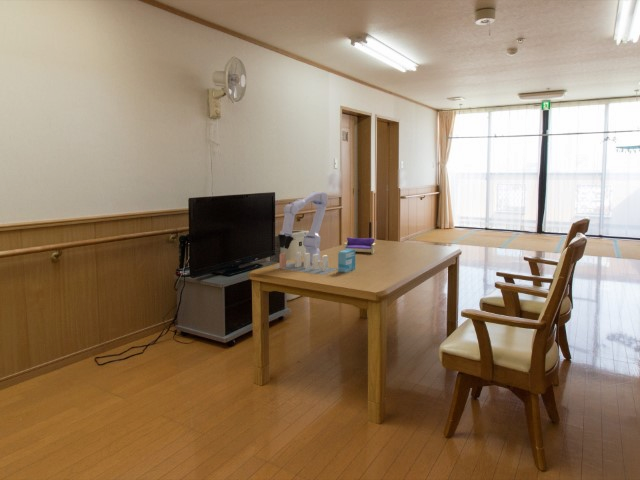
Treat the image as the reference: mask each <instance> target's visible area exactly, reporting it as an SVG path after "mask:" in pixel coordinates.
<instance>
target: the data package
mask: <svg viewBox="0 0 640 480" xmlns="http://www.w3.org/2000/svg"><path fill="white" fill-rule="evenodd" d="M337 255H338V256H337V257H338V259H337V272H338V273H343V274H346V273H350V272H352V271H354V270H356V251H355V250H352V249H346V250H344V249H343V250H340V251H338V253H337Z"/></svg>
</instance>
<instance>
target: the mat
mask: <svg viewBox="0 0 640 480" xmlns="http://www.w3.org/2000/svg"><path fill="white" fill-rule="evenodd" d="M272 268H273V269H279V270H287V271H293V272H300V273H309V274H315V275H321V276H324V275H326V274H329V273H332V272H334V271H338V268H332V267H328V270H326V271H321V266H319V269H316V270H312V265H311V264H310V268H307V269H305V268H304V263H302V266H301V267H295V262H286V267H285V268H280V265H277V266H274V267H272Z"/></svg>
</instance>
